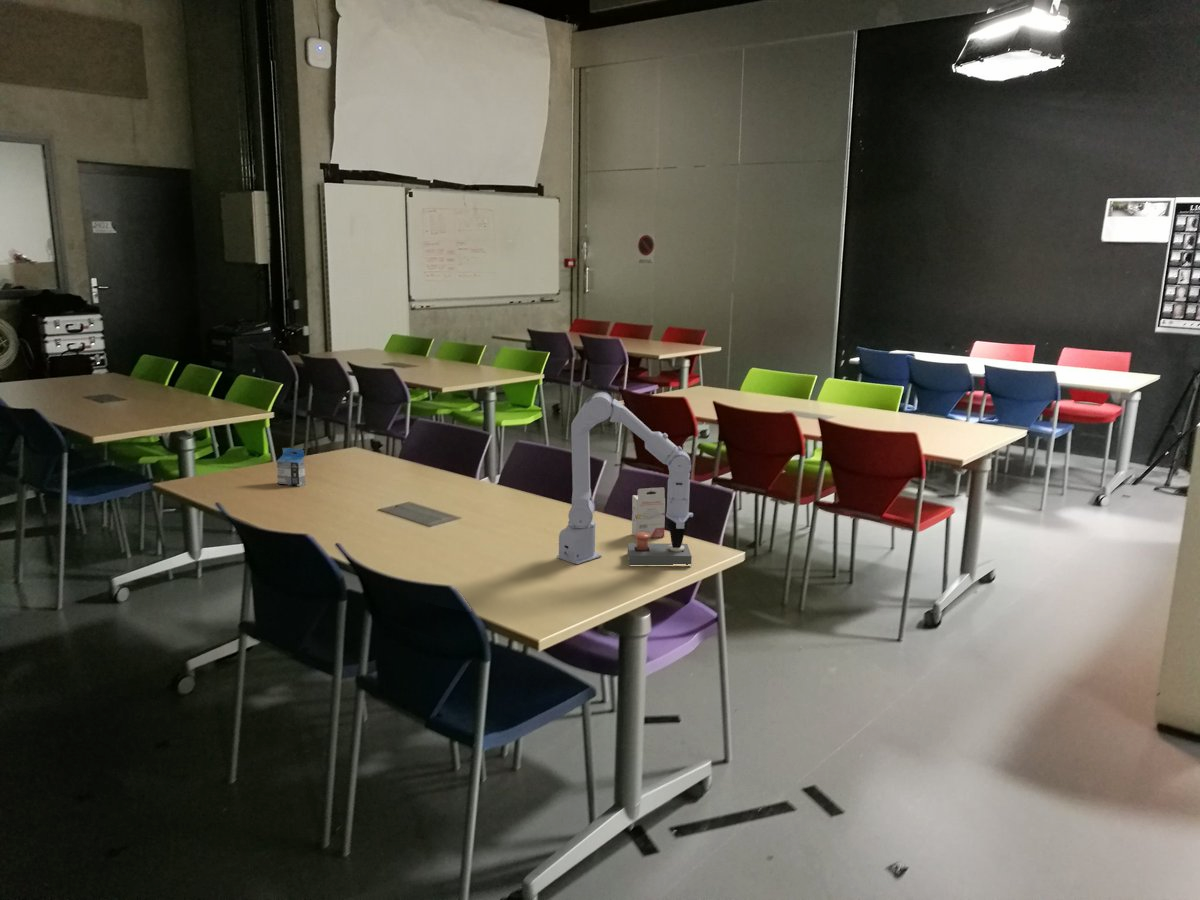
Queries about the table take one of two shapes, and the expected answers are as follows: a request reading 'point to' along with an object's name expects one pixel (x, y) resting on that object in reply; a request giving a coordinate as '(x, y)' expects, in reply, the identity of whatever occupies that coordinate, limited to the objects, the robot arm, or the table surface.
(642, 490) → the ink cartridge box
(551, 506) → the table surface
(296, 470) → the label tape box
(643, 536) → the plunger red
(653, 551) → the console
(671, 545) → the plunger ivory
